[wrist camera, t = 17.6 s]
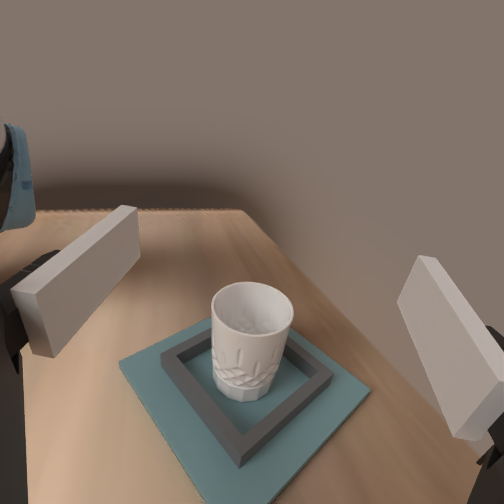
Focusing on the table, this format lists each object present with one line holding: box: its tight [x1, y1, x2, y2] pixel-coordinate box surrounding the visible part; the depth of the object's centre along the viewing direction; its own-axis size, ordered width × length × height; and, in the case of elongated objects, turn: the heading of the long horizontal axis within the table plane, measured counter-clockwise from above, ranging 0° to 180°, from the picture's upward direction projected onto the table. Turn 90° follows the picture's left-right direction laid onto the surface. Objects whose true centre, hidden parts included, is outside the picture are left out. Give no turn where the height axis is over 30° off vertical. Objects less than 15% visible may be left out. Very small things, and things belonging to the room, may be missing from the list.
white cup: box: [211, 282, 294, 402], centre depth 32 cm, size 8×8×10 cm
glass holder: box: [119, 317, 371, 504], centre depth 35 cm, size 20×20×3 cm
